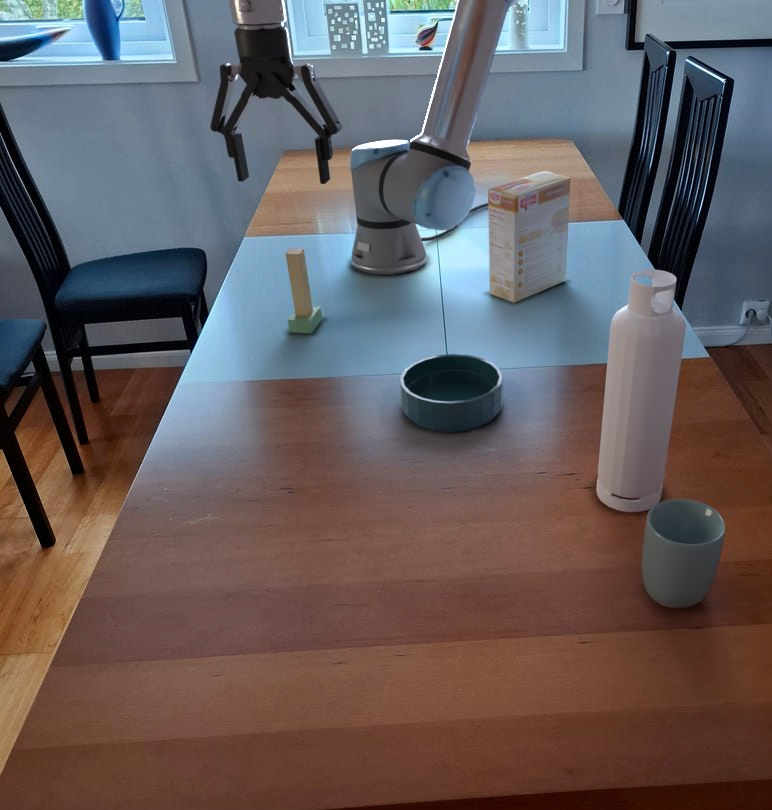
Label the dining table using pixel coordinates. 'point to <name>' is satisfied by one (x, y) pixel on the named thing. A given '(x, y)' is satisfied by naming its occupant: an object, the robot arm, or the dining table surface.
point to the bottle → (640, 394)
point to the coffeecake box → (528, 235)
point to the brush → (301, 295)
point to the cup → (681, 551)
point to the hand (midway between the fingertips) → (284, 180)
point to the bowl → (451, 392)
